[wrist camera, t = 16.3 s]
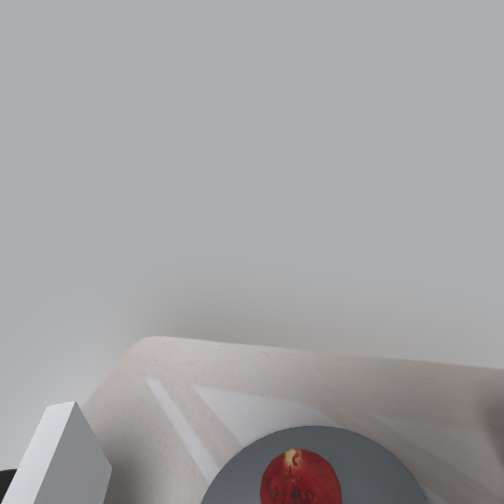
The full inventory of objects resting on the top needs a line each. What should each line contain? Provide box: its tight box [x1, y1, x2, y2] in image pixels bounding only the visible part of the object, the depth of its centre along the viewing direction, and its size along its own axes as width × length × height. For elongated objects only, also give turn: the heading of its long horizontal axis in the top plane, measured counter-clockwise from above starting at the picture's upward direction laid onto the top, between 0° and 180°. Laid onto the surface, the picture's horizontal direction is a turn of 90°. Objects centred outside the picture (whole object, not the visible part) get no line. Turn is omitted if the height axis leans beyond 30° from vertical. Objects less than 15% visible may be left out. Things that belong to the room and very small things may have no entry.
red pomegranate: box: [259, 448, 342, 504], centre depth 32 cm, size 6×6×8 cm
